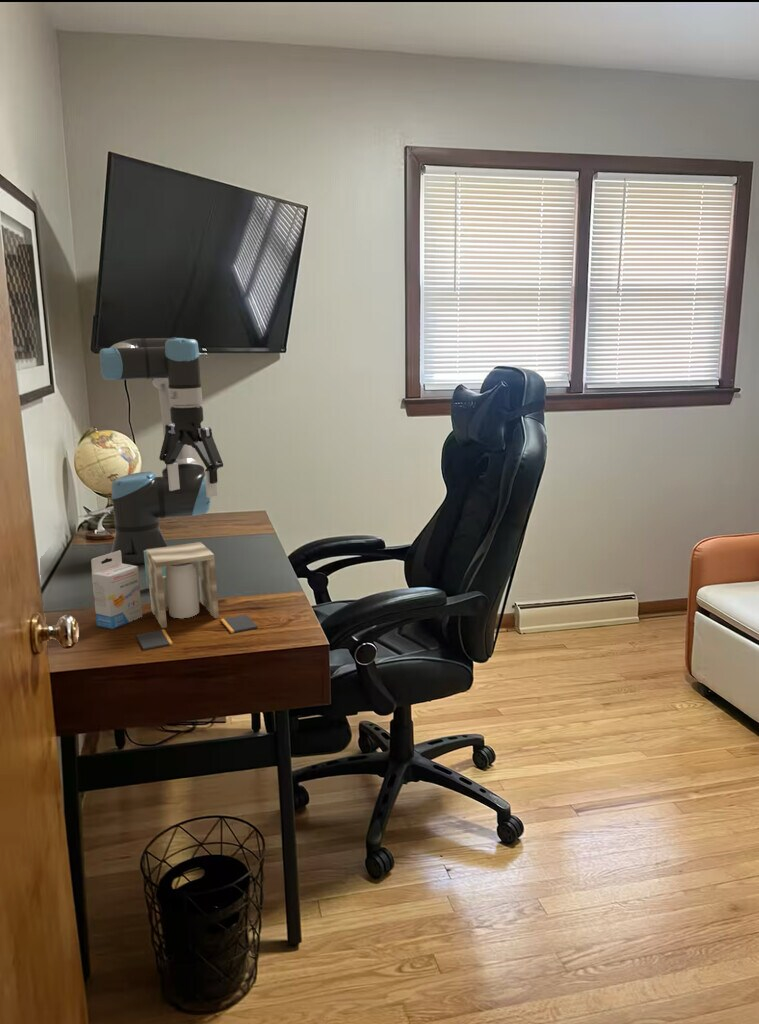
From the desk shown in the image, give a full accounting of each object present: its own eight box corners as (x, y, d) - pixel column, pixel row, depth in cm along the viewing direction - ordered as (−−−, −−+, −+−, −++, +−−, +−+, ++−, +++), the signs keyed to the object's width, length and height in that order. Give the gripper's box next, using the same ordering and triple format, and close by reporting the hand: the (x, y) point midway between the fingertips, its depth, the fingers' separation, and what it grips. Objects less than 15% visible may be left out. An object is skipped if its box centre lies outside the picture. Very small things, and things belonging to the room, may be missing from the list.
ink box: (113, 630, 156) (105, 562, 152) (96, 626, 158) (88, 559, 155) (143, 616, 163) (137, 551, 160) (127, 613, 165) (120, 549, 162)
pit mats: (136, 636, 152) (136, 634, 152) (246, 616, 162) (246, 614, 162) (143, 650, 145) (143, 648, 145) (257, 628, 155) (257, 626, 155)
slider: (146, 586, 182) (143, 550, 180) (180, 581, 185) (177, 546, 183) (162, 609, 166) (158, 570, 164) (198, 603, 169) (195, 565, 167)
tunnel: (151, 610, 166) (145, 549, 163) (205, 601, 172) (200, 541, 168) (162, 628, 156) (156, 562, 153) (218, 617, 161) (214, 554, 158)
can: (179, 608, 168) (175, 556, 165) (205, 610, 166) (201, 558, 163) (163, 618, 162) (158, 565, 159) (189, 620, 160) (185, 567, 157)
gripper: (139, 404, 181) (147, 489, 187) (210, 410, 167) (216, 502, 172) (164, 401, 187) (171, 484, 192) (234, 407, 173) (240, 496, 178)
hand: (192, 493), depth 182 cm, fingers open, 13 cm apart
